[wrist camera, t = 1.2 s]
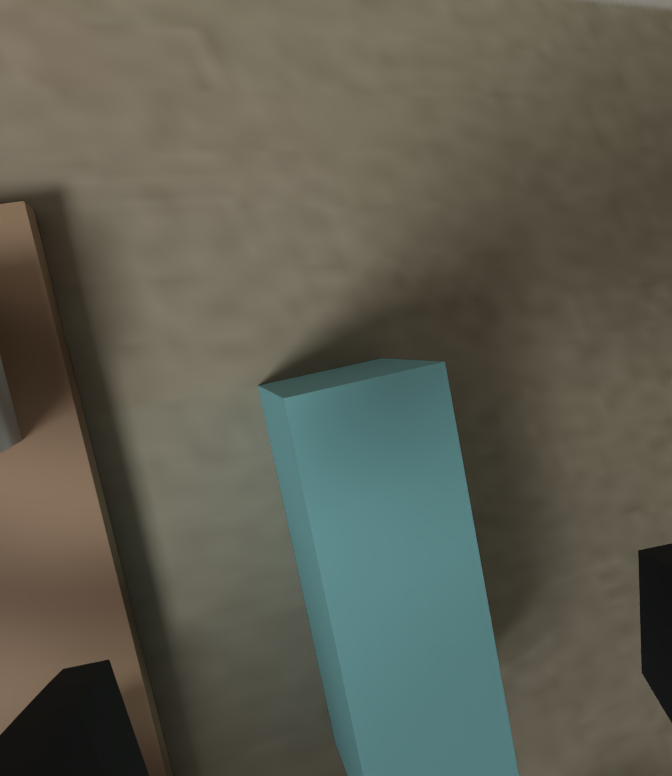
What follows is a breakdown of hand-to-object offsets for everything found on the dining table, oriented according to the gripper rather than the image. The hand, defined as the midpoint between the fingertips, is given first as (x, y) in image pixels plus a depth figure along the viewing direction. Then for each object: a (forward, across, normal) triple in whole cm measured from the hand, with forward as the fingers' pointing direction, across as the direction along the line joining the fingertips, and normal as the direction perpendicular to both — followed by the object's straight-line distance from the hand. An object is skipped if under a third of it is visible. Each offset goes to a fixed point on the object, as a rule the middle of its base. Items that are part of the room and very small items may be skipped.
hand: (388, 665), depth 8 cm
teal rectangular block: (+10, 0, +5) cm, 12 cm away
